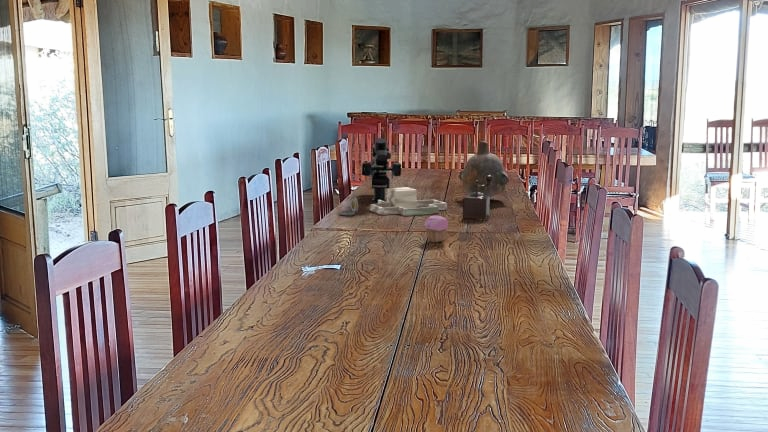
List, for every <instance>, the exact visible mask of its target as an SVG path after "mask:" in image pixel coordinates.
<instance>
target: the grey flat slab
mask: <svg viewBox="0 0 768 432" xmlns="http://www.w3.org/2000/svg"><path fill="white" fill-rule="evenodd" d="M389 206H390V203H388V202H387V201H382V200H378V201H377V203H370V205H369V208H370V209H369V211H371V212H373V213H377V214H378V215H382V216H384V215H385V216H386V215H397V214H399V215H401V216H405V217H408V216H420V215H422V216H423V215H432V214H439V212H440V211H445V210H446V211H447V209H448V203H447V202H444V201H440V200H437V199H422V200H421V199H420V200H417V205H416V208H410V209H406V208H403V207H400V206H399V207H389Z"/></svg>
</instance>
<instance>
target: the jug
mask: <svg viewBox="0 0 768 432" xmlns="http://www.w3.org/2000/svg"><path fill="white" fill-rule="evenodd" d="M463 168H464V169H463V170H461V171H460V172H459V176H458V177H459V180H460V181H461V182H462V189H463V191H464V192H465V193H467V194H468V195H470V194H471V193H474V192H475V191H476V185H475V183H476V182H475V181H476V180H478V185H485V184H486V180H485V177H486V176H487V175H490V176H492V177H493V178H494V179H493V181H492V183H491V184H492V186H489V187H488V186H486V187H478V192H481V193H483V194H484V195H487V196H490V198H491V197H494V196H497V195H500V194H503V193H504V192H505V190H506V186H507V185H508V184H509V182H510V177H509V175H508V174H507V173H506V171H505V167H504V165H503V162H502V160H501V158H499V157H498V156H497V155H496V154H494V153H491V151H490V149H489V142H487V141H484V140H481V141H480V142H479V143H478V145H477V151H476V153H475V154H473V155H471V156H470V157H469V159H468V160H467V161H466V163H465V166H464V167H463ZM484 192H485V193H484Z"/></svg>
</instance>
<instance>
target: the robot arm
mask: <svg viewBox="0 0 768 432" xmlns="http://www.w3.org/2000/svg"><path fill="white" fill-rule="evenodd" d="M387 144H388V142H387V140H386V138H383V137H378V138H377V139H376V138H375V140H374V147H372V150H371V156H372V158H371V160H370V161H369V162H367V161H363V162H362V163H361V175H362V176H365V177H369V178H371V182H370V185H371V188H370V189H373V198H372V199H371V201H373V202H378V200H382V201H385V202H387V197H386V190H387V188H390V181H391V180H390V179H394V178H397V177H400V176H402V163H401V162H393V163H392V166H388V163H389V162H388V161H389V160H390V159H392V152H391V151H390V149H389V148H388V147H387ZM387 173H391V178H389V176H388V175H387Z"/></svg>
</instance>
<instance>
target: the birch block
mask: <svg viewBox="0 0 768 432" xmlns="http://www.w3.org/2000/svg"><path fill="white" fill-rule="evenodd" d="M417 195H418V189H415V188H412V187H408V186H407V187H404V186H403V187H392V188H391V187H389V188H387V189H386V199H387V200H386V202H388V203H390V206H389V207H399V206H400V207H403V208H406V209H410V208H417V207H416V205H417V198H418V196H417Z"/></svg>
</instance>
